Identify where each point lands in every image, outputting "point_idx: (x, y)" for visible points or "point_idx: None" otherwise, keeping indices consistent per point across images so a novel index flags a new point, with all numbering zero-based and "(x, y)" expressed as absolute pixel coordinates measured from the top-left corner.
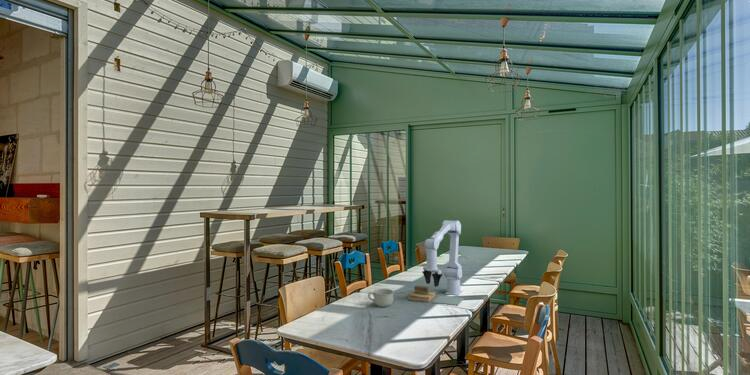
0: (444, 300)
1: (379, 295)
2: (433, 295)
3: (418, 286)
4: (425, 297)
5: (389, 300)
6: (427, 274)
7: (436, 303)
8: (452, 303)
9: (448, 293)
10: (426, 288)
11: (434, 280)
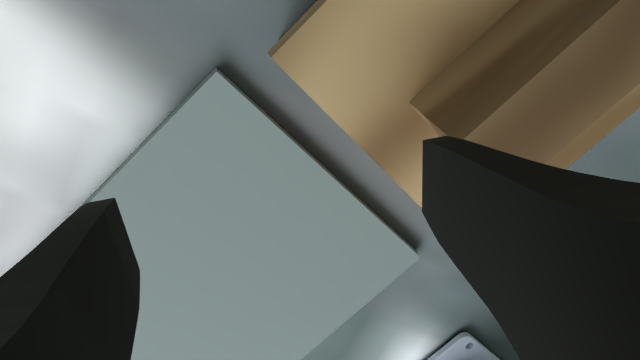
0: (226, 237)
1: None
2: None
3: (625, 37)
4: (314, 10)
5: None
6: (573, 301)
7: (177, 108)
8: None
9: (444, 355)
10: (465, 125)
11: (4, 288)
